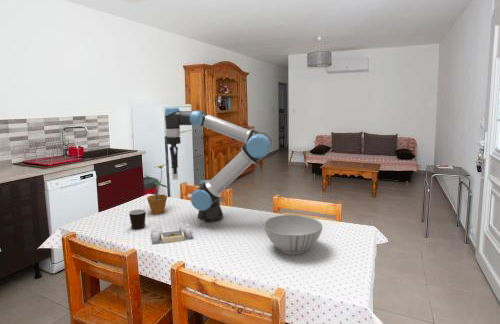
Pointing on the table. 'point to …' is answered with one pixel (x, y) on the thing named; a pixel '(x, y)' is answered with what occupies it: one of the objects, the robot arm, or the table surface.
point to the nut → (172, 235)
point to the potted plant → (157, 197)
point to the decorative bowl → (292, 232)
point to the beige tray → (161, 237)
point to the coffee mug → (137, 219)
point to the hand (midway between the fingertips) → (175, 179)
